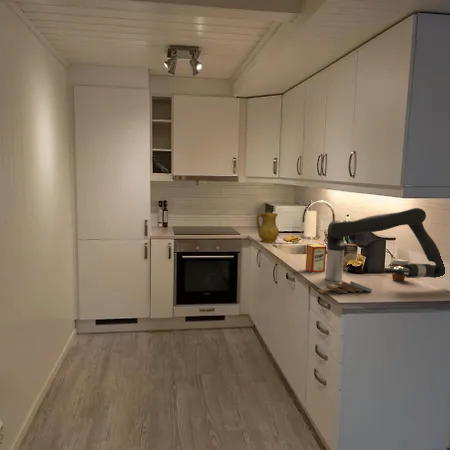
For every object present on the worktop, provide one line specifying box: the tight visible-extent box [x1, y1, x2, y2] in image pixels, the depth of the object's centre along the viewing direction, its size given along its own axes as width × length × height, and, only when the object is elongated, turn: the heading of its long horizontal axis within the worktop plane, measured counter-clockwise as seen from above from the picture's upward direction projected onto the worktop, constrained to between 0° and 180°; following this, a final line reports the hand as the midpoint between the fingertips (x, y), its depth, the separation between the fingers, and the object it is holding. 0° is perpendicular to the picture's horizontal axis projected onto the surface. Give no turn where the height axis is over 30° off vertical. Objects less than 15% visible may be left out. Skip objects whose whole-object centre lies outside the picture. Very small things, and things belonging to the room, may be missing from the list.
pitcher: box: [256, 212, 280, 244], centre depth 365 cm, size 17×19×25 cm
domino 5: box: [349, 280, 373, 293], centre depth 221 cm, size 2×5×10 cm
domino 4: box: [341, 280, 364, 293], centre depth 219 cm, size 2×5×10 cm
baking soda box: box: [305, 244, 328, 273], centre depth 262 cm, size 10×6×16 cm
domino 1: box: [316, 288, 341, 295], centre depth 216 cm, size 2×5×10 cm
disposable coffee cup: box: [390, 257, 410, 282], centre depth 248 cm, size 10×10×12 cm
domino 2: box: [325, 284, 349, 294], centre depth 216 cm, size 2×5×10 cm
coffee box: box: [343, 242, 359, 271], centre depth 270 cm, size 9×6×16 cm
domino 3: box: [333, 281, 357, 294], centre depth 218 cm, size 2×5×10 cm
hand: (385, 270), depth 223 cm, fingers closed
